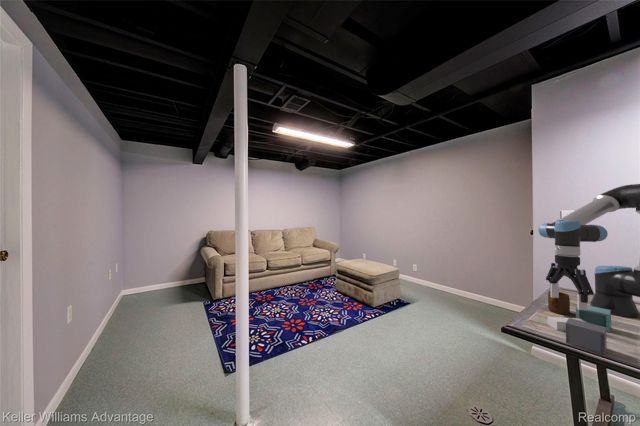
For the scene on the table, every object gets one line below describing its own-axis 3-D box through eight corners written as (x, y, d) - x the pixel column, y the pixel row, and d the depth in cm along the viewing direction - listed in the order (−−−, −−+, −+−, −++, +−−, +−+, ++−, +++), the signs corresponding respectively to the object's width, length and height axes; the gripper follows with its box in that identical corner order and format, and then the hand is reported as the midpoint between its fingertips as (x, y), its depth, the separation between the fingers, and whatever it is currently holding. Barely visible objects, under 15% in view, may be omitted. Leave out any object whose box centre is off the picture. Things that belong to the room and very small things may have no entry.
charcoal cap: (569, 336, 91) (568, 318, 91) (606, 348, 83) (606, 327, 83) (566, 342, 87) (565, 322, 87) (605, 355, 79) (604, 333, 79)
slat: (580, 327, 99) (579, 318, 99) (591, 333, 94) (590, 324, 94) (547, 325, 101) (547, 316, 101) (557, 330, 96) (556, 321, 97)
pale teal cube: (578, 319, 105) (578, 303, 105) (611, 327, 98) (610, 310, 98) (576, 323, 101) (575, 307, 101) (609, 332, 94) (609, 314, 94)
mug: (563, 318, 107) (563, 299, 107) (542, 312, 113) (541, 294, 113) (572, 313, 112) (571, 294, 112) (551, 307, 119) (551, 290, 119)
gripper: (535, 250, 111) (536, 292, 111) (584, 260, 86) (584, 315, 86) (553, 250, 109) (554, 293, 109) (607, 261, 85) (608, 316, 85)
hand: (567, 303), depth 98 cm, fingers open, 13 cm apart
